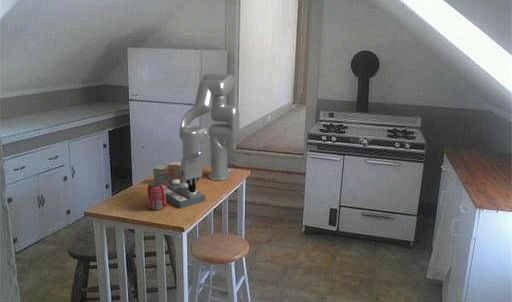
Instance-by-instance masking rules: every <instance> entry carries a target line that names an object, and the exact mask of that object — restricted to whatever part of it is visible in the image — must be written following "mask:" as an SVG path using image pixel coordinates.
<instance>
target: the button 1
mask: <svg viewBox="0 0 512 302" xmlns="http://www.w3.org/2000/svg"><path fill="white" fill-rule="evenodd" d="M179 184H180V180H179V179H174V180H172V185H179Z"/></svg>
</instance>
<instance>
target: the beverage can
mask: <svg viewBox="0 0 512 302" xmlns="http://www.w3.org/2000/svg"><path fill="white" fill-rule="evenodd" d="M165 187H166V185H163V182H161V181H154V180H153V181H151V182H149V183H148V185H147V202H148V204H147V205H148V208H149V209H150V210H152V211H161V210H163V209H164V208H165V207H166V206H167V200H166V196H165Z"/></svg>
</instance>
